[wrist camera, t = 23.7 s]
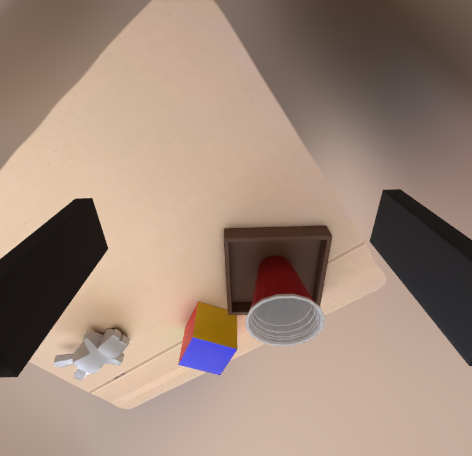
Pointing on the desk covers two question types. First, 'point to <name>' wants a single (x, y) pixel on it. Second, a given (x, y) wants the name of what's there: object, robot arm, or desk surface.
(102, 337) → the bunny figurine
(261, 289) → the plastic cup
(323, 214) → the desk surface
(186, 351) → the cube
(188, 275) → the desk surface
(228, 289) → the tray
